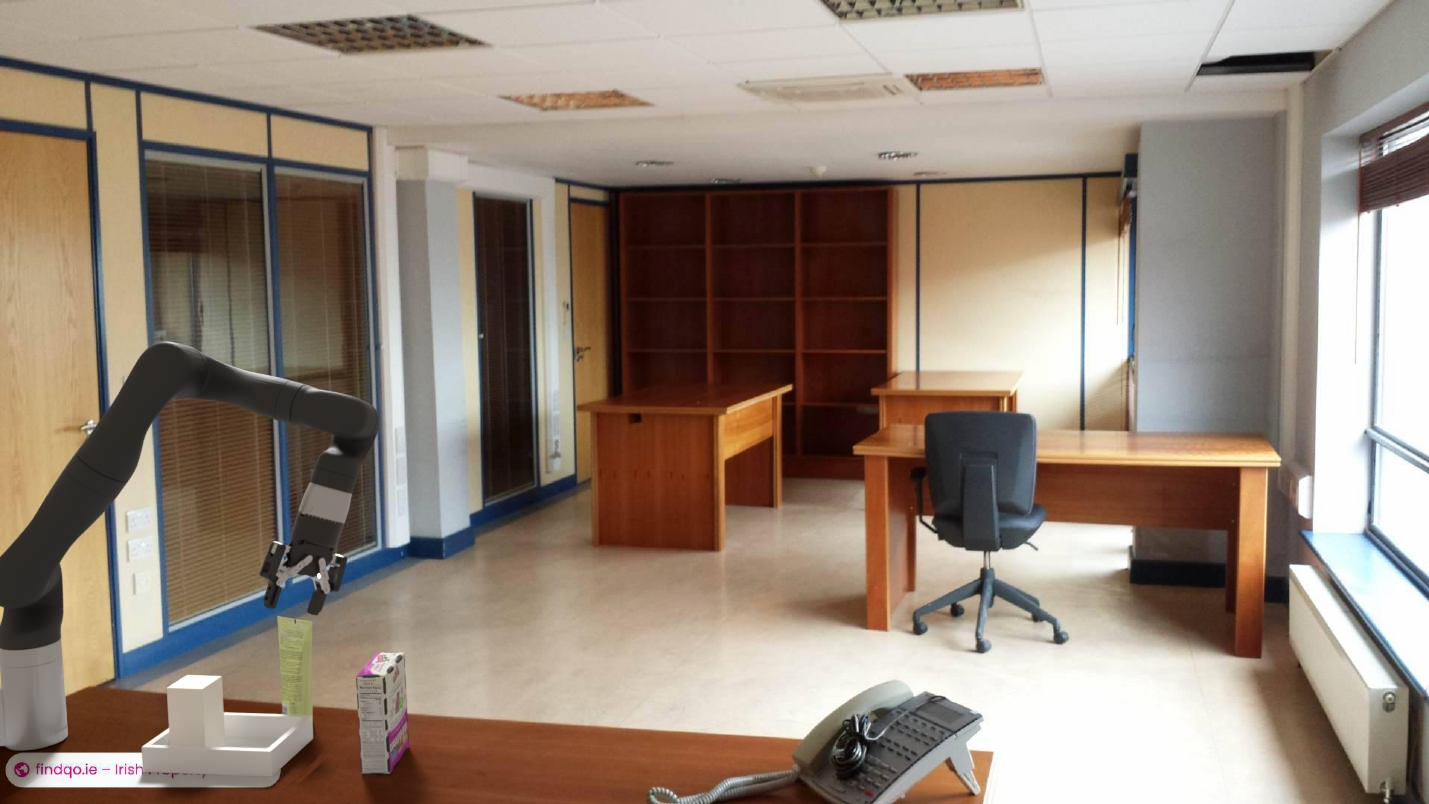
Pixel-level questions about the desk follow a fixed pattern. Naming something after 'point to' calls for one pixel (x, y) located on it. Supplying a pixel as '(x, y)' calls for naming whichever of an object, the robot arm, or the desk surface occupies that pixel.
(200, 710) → the carton
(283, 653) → the tube
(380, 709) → the candy bar box
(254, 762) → the tote
